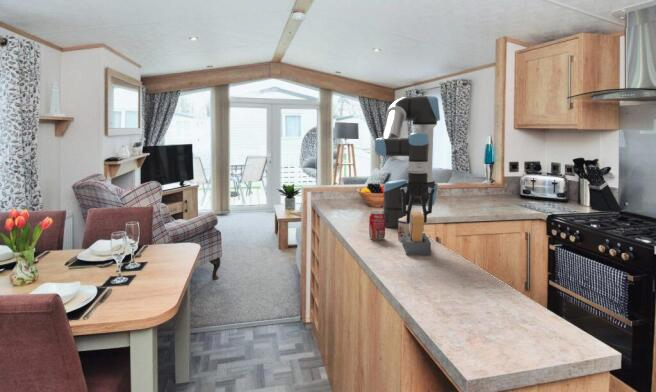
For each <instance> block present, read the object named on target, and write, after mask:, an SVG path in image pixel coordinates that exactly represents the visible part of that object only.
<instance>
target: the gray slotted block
mask: <svg viewBox="0 0 656 392" xmlns="http://www.w3.org/2000/svg"><path fill="white" fill-rule="evenodd" d="M401 243H402V247H403V250H404V253H405V255H406V256H425V257H426V256H429V257H430V256H431V255H432V254H431V250H432V249H431V248H432V242H431V241H430V239H429V238H428V235H426V233H423V237H422V241H412V237H410V233H403V240H402V241H401Z"/></svg>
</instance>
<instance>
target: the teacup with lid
mask: <svg viewBox="0 0 656 392" xmlns="http://www.w3.org/2000/svg"><path fill="white" fill-rule="evenodd" d="M397 230H398V232H397V240H398V241H400V242H402V240H403V233H410V231H409V223H407V214H406V216H404V217H403V218H400V219H398V228H397Z"/></svg>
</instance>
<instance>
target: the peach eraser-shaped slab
mask: <svg viewBox="0 0 656 392" xmlns="http://www.w3.org/2000/svg"><path fill="white" fill-rule="evenodd" d="M410 214H412V231H410V237H412V241H422V237H423V232H424V231H423V224H424V225H425V223H424V217H423V215H422V213H421V212H420V211H411V213H410Z"/></svg>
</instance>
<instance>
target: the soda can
mask: <svg viewBox="0 0 656 392" xmlns="http://www.w3.org/2000/svg"><path fill="white" fill-rule="evenodd" d="M368 221H369V222H368V235H369V237H368V238H369V239H371V240H372V241H382V240H384V239H385V236H386V227H385V215H384V212H383V211H371V212H370V214H369V218H368Z"/></svg>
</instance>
